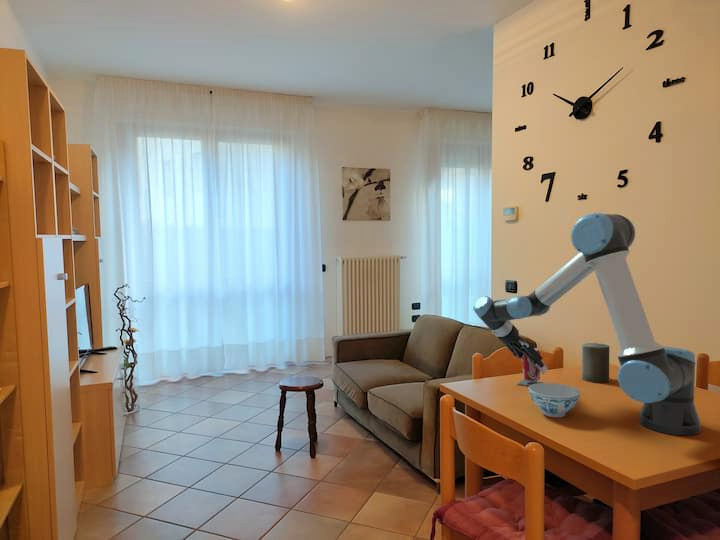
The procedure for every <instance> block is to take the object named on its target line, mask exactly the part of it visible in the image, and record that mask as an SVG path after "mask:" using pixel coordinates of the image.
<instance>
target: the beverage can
mask: <svg viewBox="0 0 720 540" xmlns="http://www.w3.org/2000/svg"><path fill="white" fill-rule="evenodd" d="M533 348H534V349H535V350H536V351H537V352H538V353H539V354H540V355H541V352H540V351H539V348H536V347H533ZM533 363H534V362H533V361H532V360H531V359H530V358H529V357H528V356H527V355H525V354H524V353H523V361H522V379H523V380H524V379H525V380H526V381H531V382H536V381H537V382H539V381H540V380H541V371H540V370H539V369H538V368H537V367H536V366H535V365H534V364H533Z"/></svg>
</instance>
